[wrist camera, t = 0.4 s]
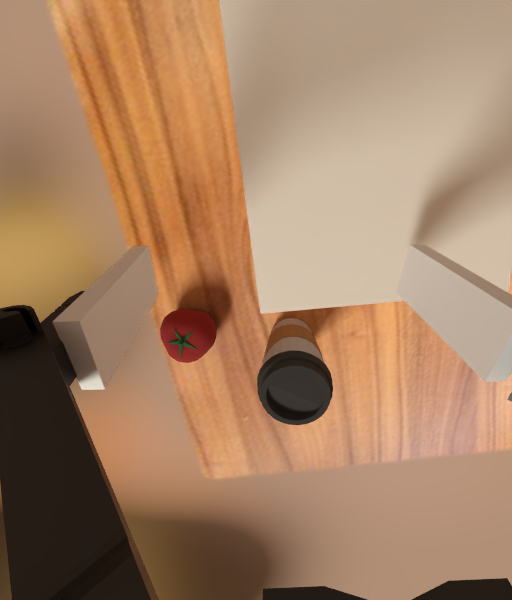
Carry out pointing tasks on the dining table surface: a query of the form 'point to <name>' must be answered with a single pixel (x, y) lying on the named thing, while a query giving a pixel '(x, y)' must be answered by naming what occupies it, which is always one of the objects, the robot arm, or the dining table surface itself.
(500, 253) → the open box
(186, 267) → the dining table surface
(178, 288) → the dining table surface
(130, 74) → the dining table surface
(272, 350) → the coffee cup
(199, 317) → the tomato
